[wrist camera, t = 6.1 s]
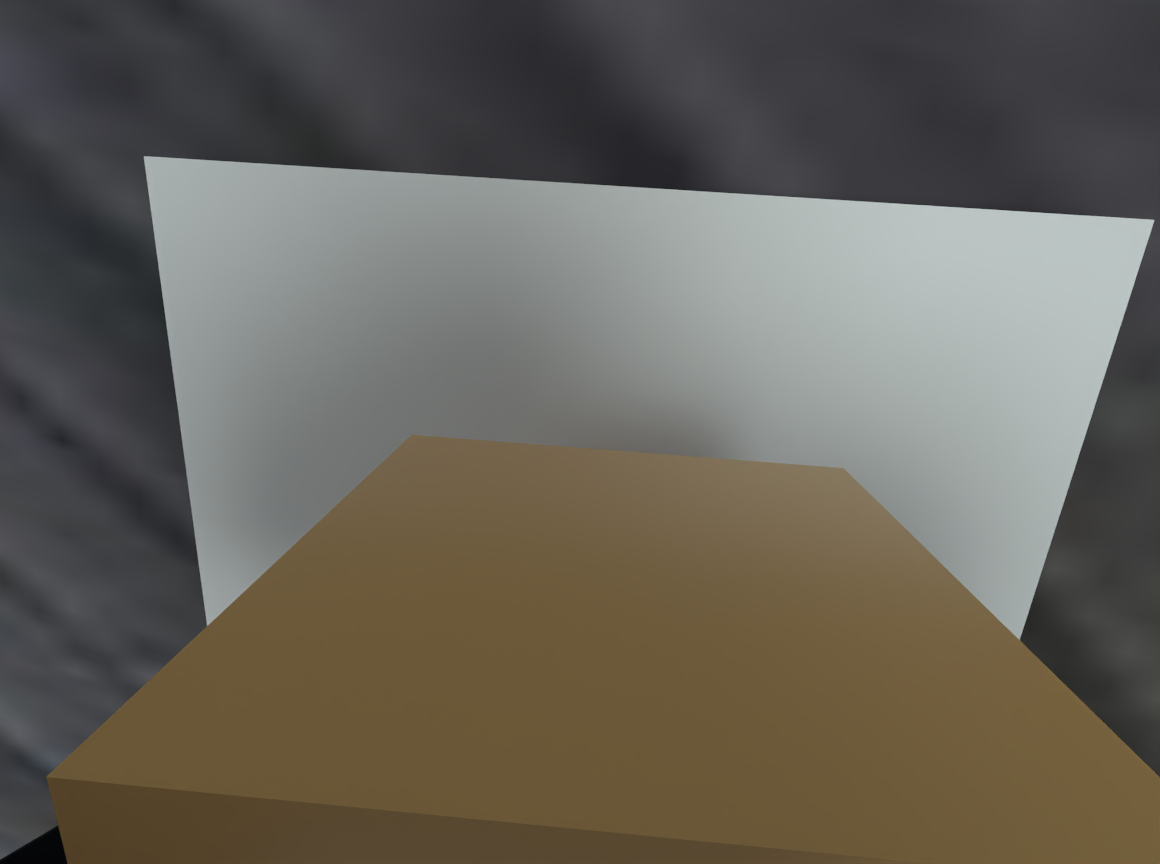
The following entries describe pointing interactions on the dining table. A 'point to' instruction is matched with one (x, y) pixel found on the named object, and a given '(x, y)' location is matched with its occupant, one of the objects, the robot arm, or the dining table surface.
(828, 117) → the dining table surface
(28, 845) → the robot arm
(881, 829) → the cardboard box
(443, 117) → the dining table surface
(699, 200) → the plate
